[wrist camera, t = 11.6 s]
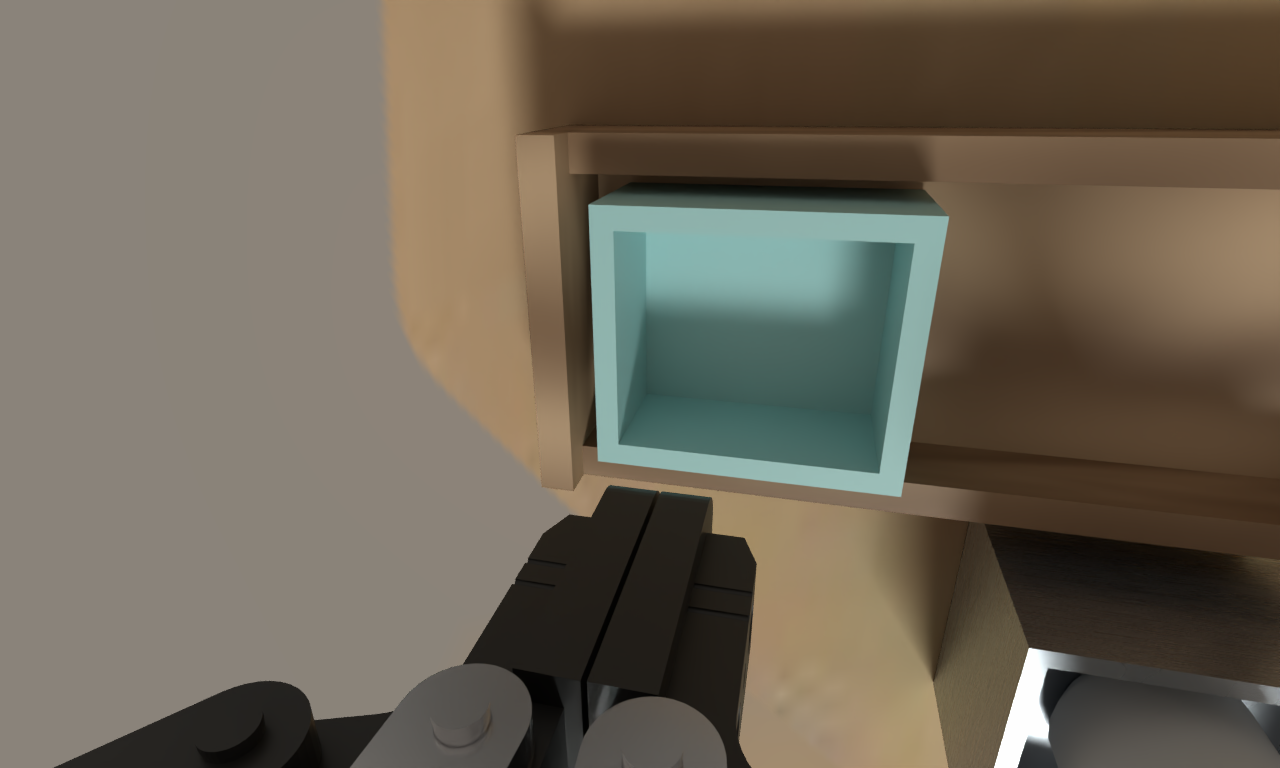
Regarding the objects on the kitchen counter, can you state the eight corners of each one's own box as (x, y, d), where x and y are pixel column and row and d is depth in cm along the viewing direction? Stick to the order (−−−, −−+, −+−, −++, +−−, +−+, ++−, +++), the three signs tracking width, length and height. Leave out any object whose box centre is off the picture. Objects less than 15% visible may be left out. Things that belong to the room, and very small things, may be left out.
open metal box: (974, 497, 22) (1028, 647, 16) (1270, 531, 20) (1451, 714, 14) (933, 683, 25) (966, 864, 19) (1185, 727, 23) (1304, 940, 18)
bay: (569, 125, 20) (514, 135, 17) (1501, 131, 15) (1704, 147, 12) (583, 427, 24) (541, 486, 21) (1324, 507, 19) (1436, 603, 16)
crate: (630, 182, 20) (588, 204, 16) (924, 189, 18) (949, 216, 15) (633, 401, 23) (597, 461, 19) (887, 426, 21) (901, 496, 17)
